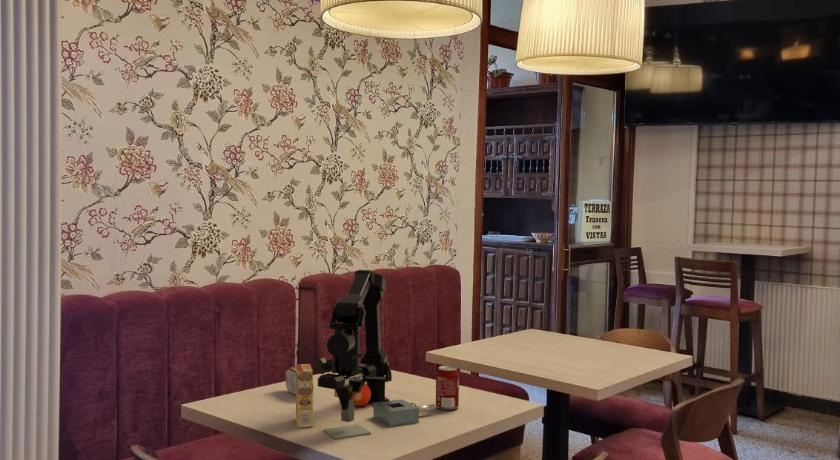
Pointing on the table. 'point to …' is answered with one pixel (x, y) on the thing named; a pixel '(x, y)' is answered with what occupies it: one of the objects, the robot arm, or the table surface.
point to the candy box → (304, 395)
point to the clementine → (364, 396)
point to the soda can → (447, 388)
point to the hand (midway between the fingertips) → (347, 408)
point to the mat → (346, 431)
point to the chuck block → (399, 412)
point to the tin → (291, 380)
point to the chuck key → (349, 406)
